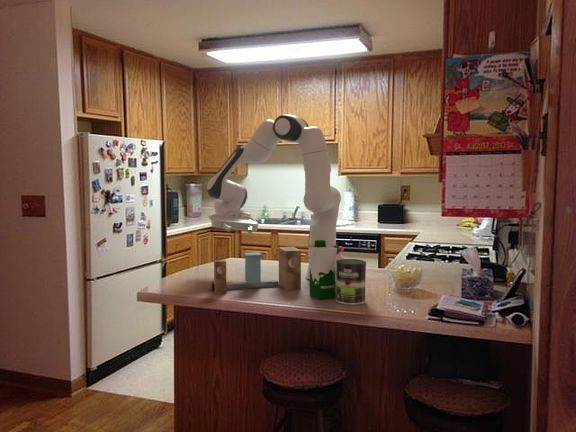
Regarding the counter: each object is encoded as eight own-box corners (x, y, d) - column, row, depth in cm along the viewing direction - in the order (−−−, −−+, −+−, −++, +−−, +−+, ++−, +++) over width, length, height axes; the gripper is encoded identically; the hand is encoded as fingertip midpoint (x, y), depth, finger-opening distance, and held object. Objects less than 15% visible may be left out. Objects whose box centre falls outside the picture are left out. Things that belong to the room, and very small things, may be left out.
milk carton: (327, 292, 184) (327, 239, 182) (339, 298, 175) (340, 242, 174) (306, 294, 180) (306, 240, 178) (317, 300, 172) (317, 244, 170)
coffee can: (362, 306, 165) (362, 264, 163) (332, 303, 168) (332, 262, 167) (368, 299, 174) (368, 259, 173) (339, 296, 178) (340, 258, 177)
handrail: (276, 284, 196) (276, 277, 196) (278, 286, 193) (278, 279, 193) (210, 289, 189) (210, 281, 188) (212, 291, 185) (211, 283, 185)
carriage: (258, 279, 195) (258, 252, 194) (262, 282, 190) (262, 254, 189) (243, 280, 194) (243, 252, 193) (247, 283, 188) (246, 255, 187)
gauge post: (224, 291, 186) (224, 259, 184) (227, 294, 181) (226, 261, 180) (214, 291, 184) (213, 260, 183) (216, 294, 180) (215, 262, 179)
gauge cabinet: (293, 283, 199) (293, 246, 197) (301, 289, 188) (301, 250, 187) (278, 284, 197) (278, 247, 195) (286, 290, 186) (286, 251, 185)
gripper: (209, 208, 210) (217, 221, 199) (253, 213, 220) (263, 226, 208) (206, 221, 212) (214, 235, 201) (250, 226, 221) (260, 239, 210)
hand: (239, 230), depth 204 cm, fingers open, 8 cm apart
